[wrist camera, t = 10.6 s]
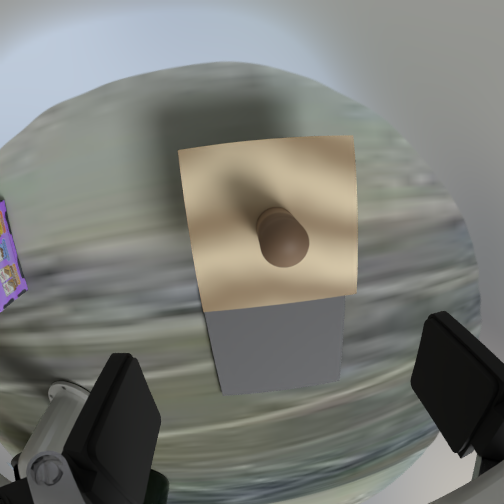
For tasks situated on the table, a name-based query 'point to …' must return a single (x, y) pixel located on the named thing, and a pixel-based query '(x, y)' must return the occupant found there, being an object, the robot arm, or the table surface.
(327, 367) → the mat
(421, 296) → the table surface
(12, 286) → the candy box
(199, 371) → the table surface
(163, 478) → the beer bottle
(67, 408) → the robot arm
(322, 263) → the lid
